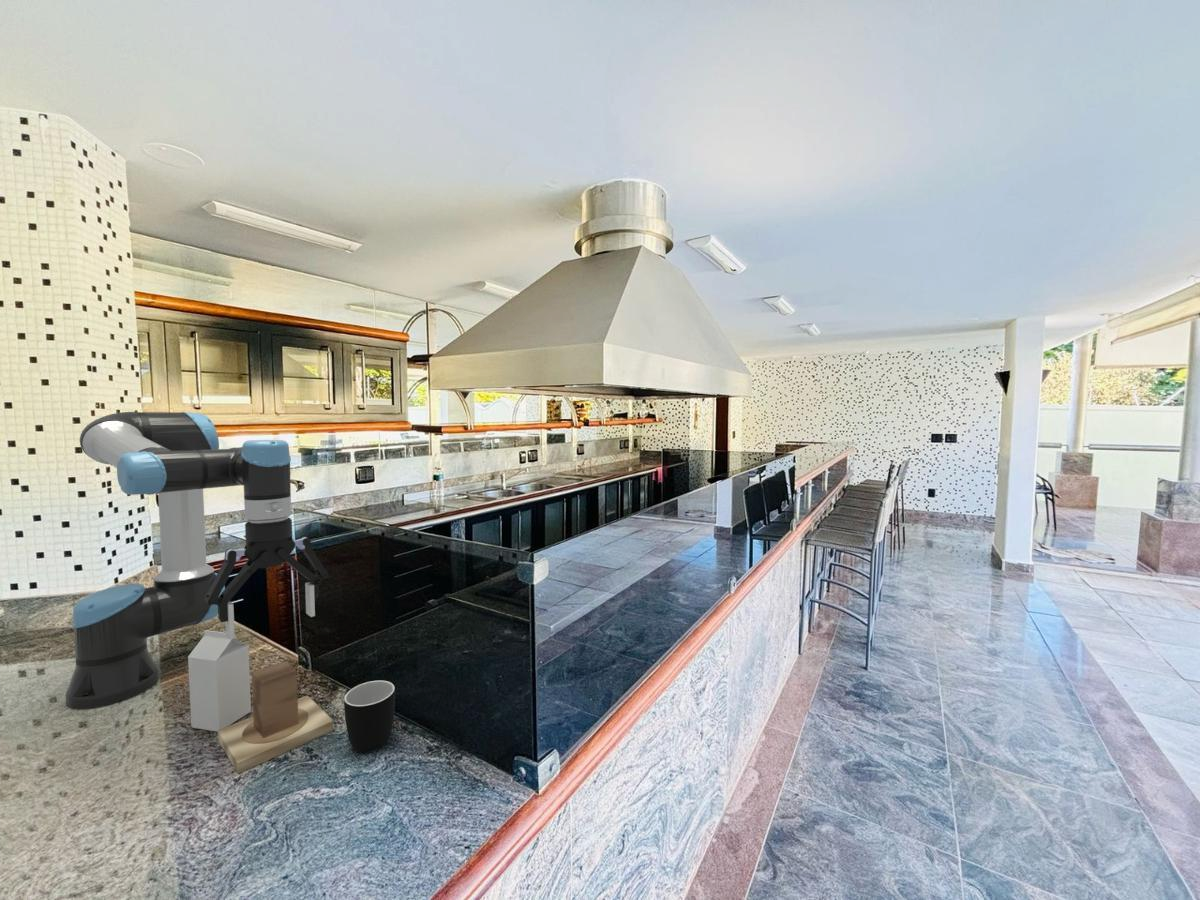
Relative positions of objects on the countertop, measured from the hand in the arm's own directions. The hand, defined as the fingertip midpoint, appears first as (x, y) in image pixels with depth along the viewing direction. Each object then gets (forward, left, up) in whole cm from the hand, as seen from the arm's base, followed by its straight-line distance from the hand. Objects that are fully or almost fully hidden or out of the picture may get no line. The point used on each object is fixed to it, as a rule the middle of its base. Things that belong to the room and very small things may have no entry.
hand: (272, 625), depth 95 cm
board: (0, 0, -22) cm, 23 cm away
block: (0, 0, -20) cm, 20 cm away
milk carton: (-14, -6, -23) cm, 27 cm away
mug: (+15, +11, -23) cm, 29 cm away
